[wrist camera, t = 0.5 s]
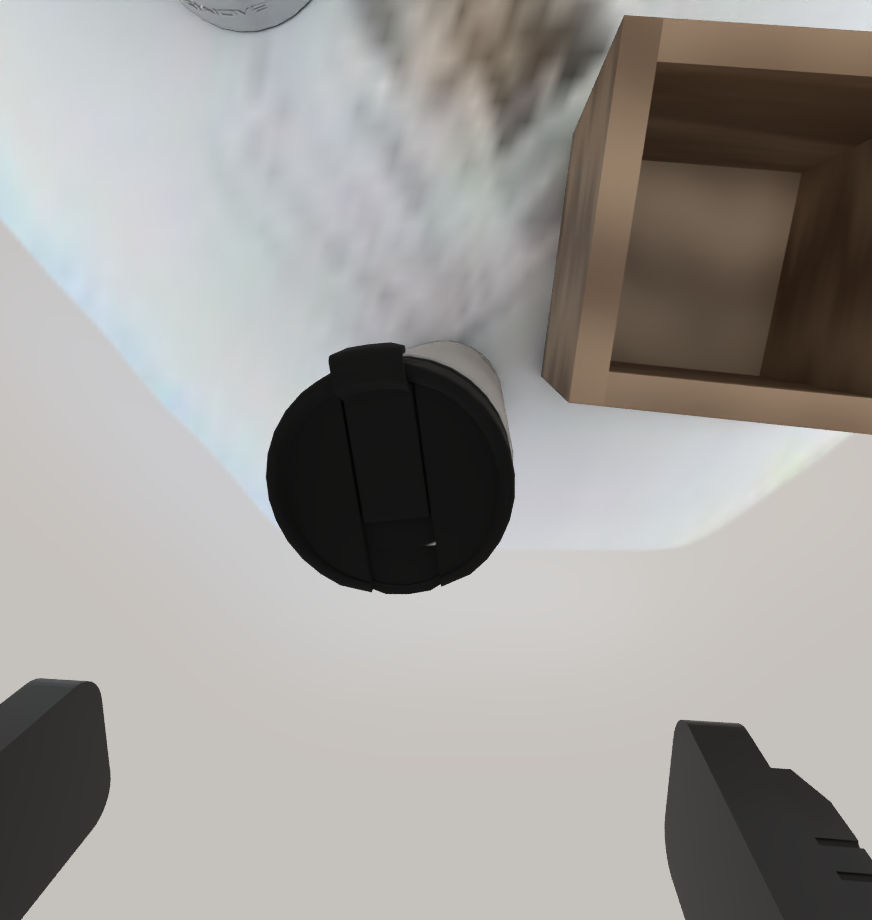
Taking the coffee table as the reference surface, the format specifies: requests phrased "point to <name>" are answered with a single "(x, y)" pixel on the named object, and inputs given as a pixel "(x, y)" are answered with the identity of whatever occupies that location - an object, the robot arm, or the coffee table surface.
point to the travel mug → (395, 467)
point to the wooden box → (720, 227)
